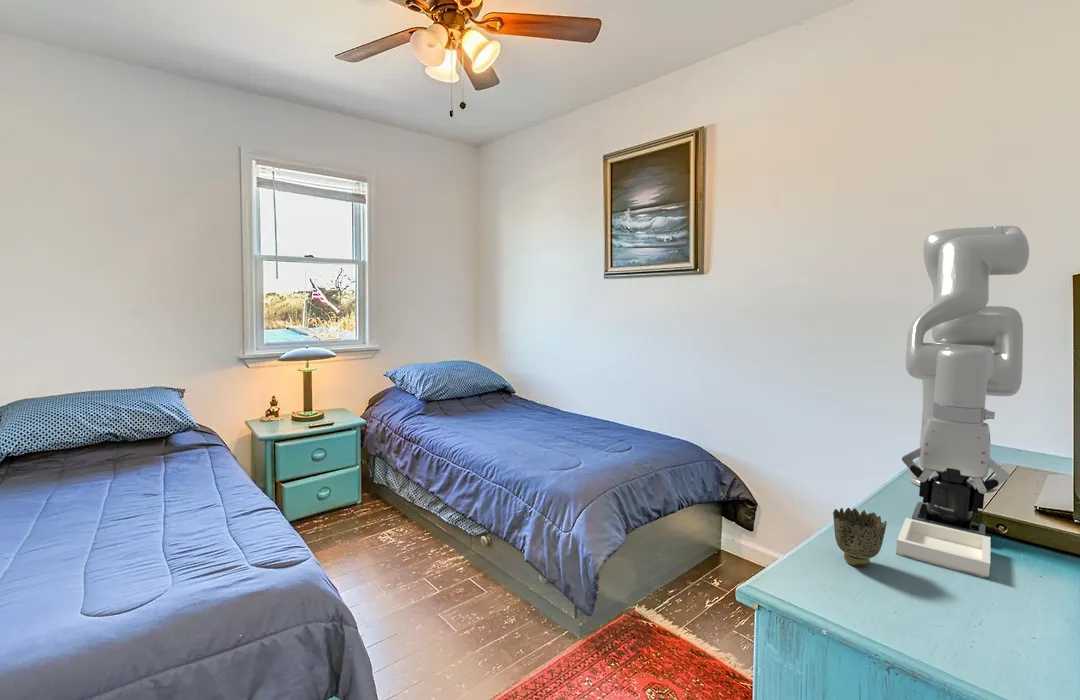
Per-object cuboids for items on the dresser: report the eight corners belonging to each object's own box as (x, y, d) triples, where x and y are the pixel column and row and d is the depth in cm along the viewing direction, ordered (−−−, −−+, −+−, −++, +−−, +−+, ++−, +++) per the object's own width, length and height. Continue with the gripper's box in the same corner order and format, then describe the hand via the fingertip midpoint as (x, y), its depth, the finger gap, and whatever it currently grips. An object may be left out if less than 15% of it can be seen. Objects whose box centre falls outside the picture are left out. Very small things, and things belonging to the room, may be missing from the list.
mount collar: (917, 510, 107) (917, 501, 106) (984, 525, 100) (985, 515, 100) (910, 527, 99) (911, 517, 99) (984, 545, 92) (985, 534, 92)
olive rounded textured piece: (891, 577, 81) (895, 528, 80) (840, 572, 83) (843, 523, 82) (871, 554, 88) (874, 509, 88) (824, 550, 90) (827, 505, 89)
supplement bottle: (933, 531, 97) (938, 469, 96) (920, 517, 104) (924, 458, 102) (977, 537, 95) (983, 473, 94) (961, 522, 101) (966, 462, 100)
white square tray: (904, 530, 98) (905, 517, 97) (989, 551, 90) (990, 537, 89) (896, 553, 88) (897, 539, 88) (988, 579, 81) (990, 563, 80)
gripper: (1019, 417, 94) (1010, 512, 96) (903, 404, 106) (897, 489, 107) (1021, 425, 89) (1011, 525, 90) (898, 410, 100) (892, 500, 102)
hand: (949, 505), depth 99 cm, fingers closed on supplement bottle, 6 cm apart
